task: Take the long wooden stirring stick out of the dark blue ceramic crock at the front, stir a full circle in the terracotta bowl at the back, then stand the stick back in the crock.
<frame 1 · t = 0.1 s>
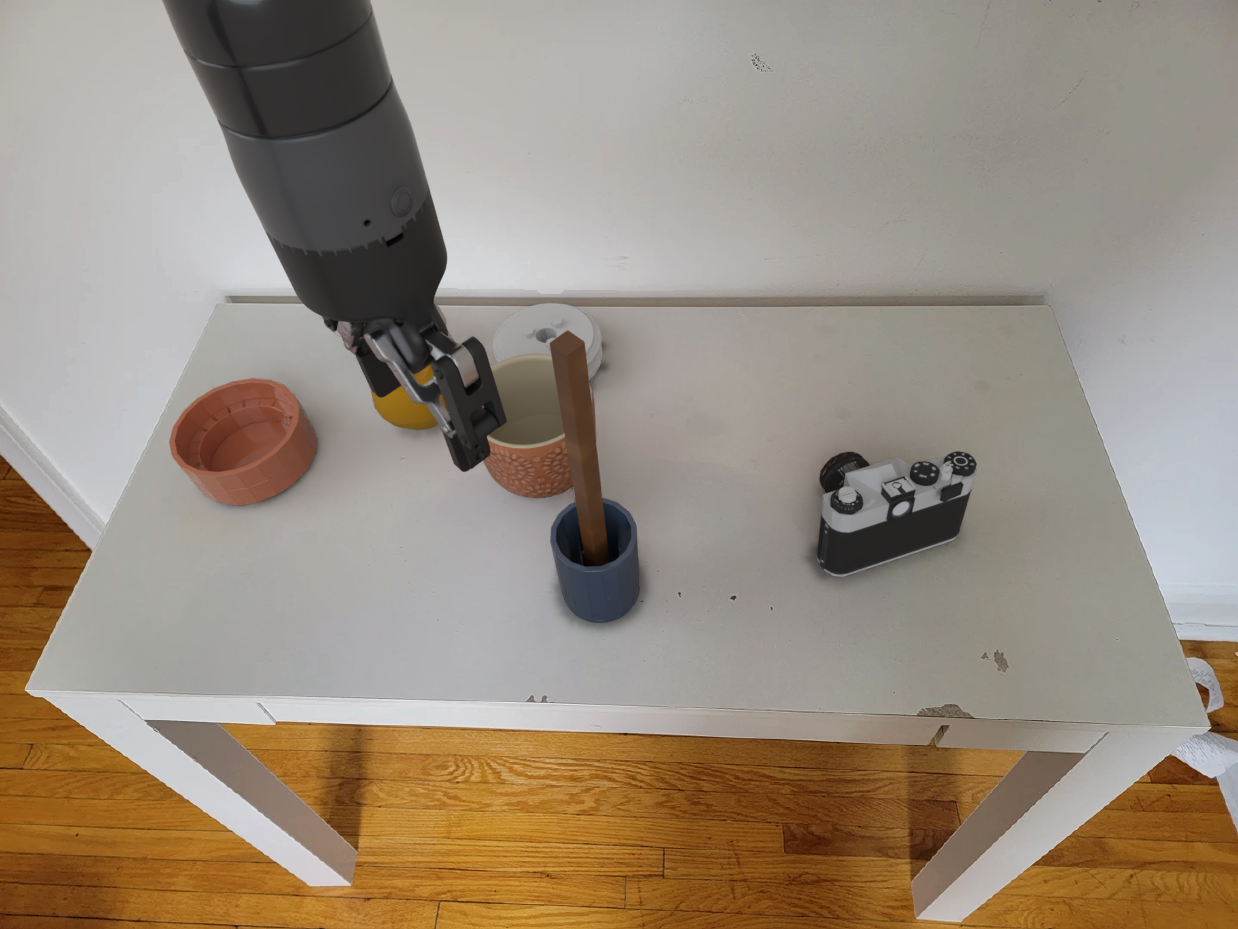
hand: (430, 423, 47), 30 cm above the table, tool pointing down, fingers open, 8 cm apart
planter: (543, 466, 83), on the table
crock: (601, 587, 74), on the table
stick: (600, 584, 73), point 1 cm above the table, touching crock
apple: (423, 420, 88), on the table
camera: (868, 518, 77), on the table
cup: (380, 352, 94), on the table
bowl: (259, 459, 85), on the table
lid: (550, 362, 92), on the table
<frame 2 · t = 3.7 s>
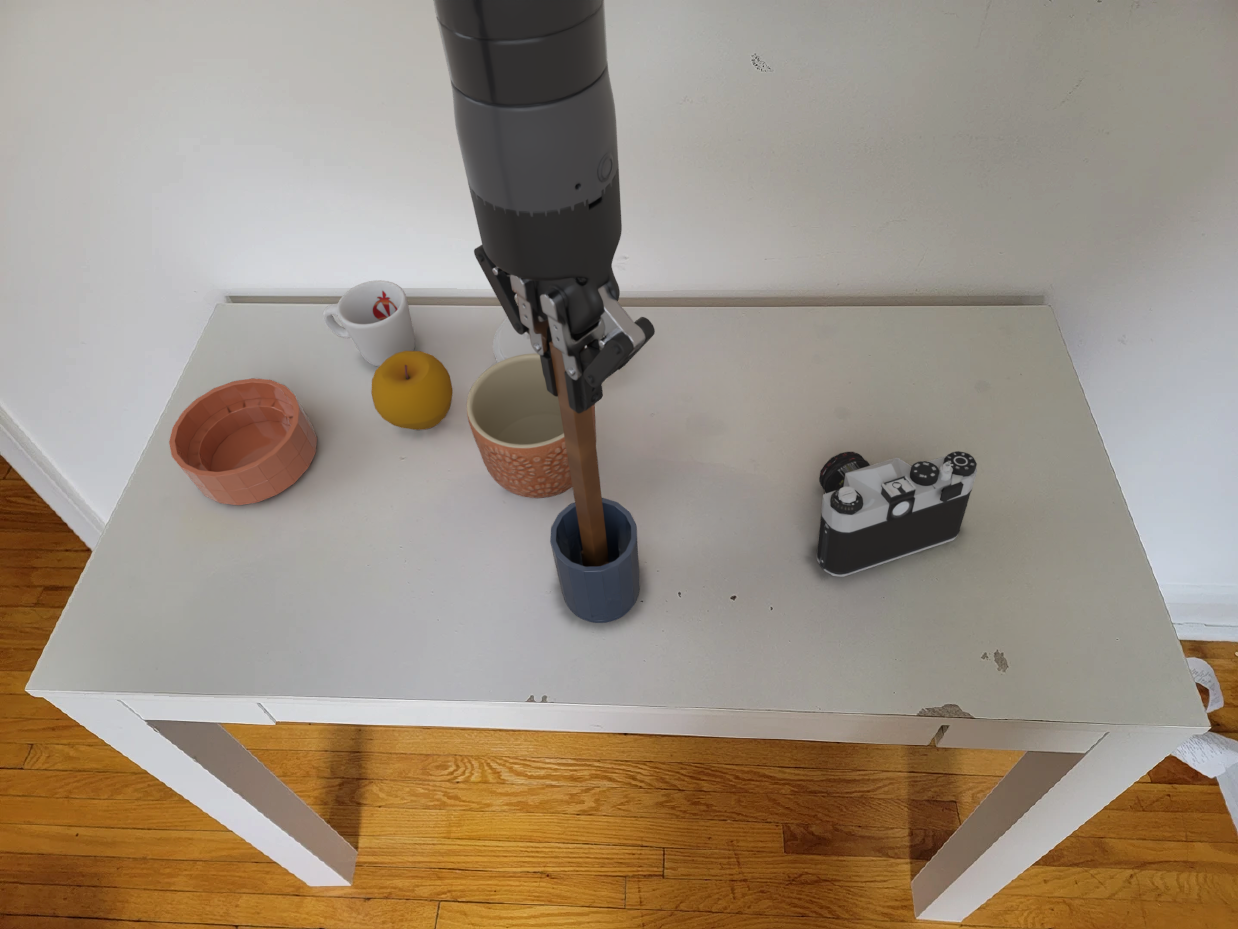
hand: (574, 395, 51), 28 cm above the table, tool pointing down, fingers closed on stick, 1 cm apart
stick: (600, 585, 73), point 1 cm above the table, touching gripper
everything else where it was.
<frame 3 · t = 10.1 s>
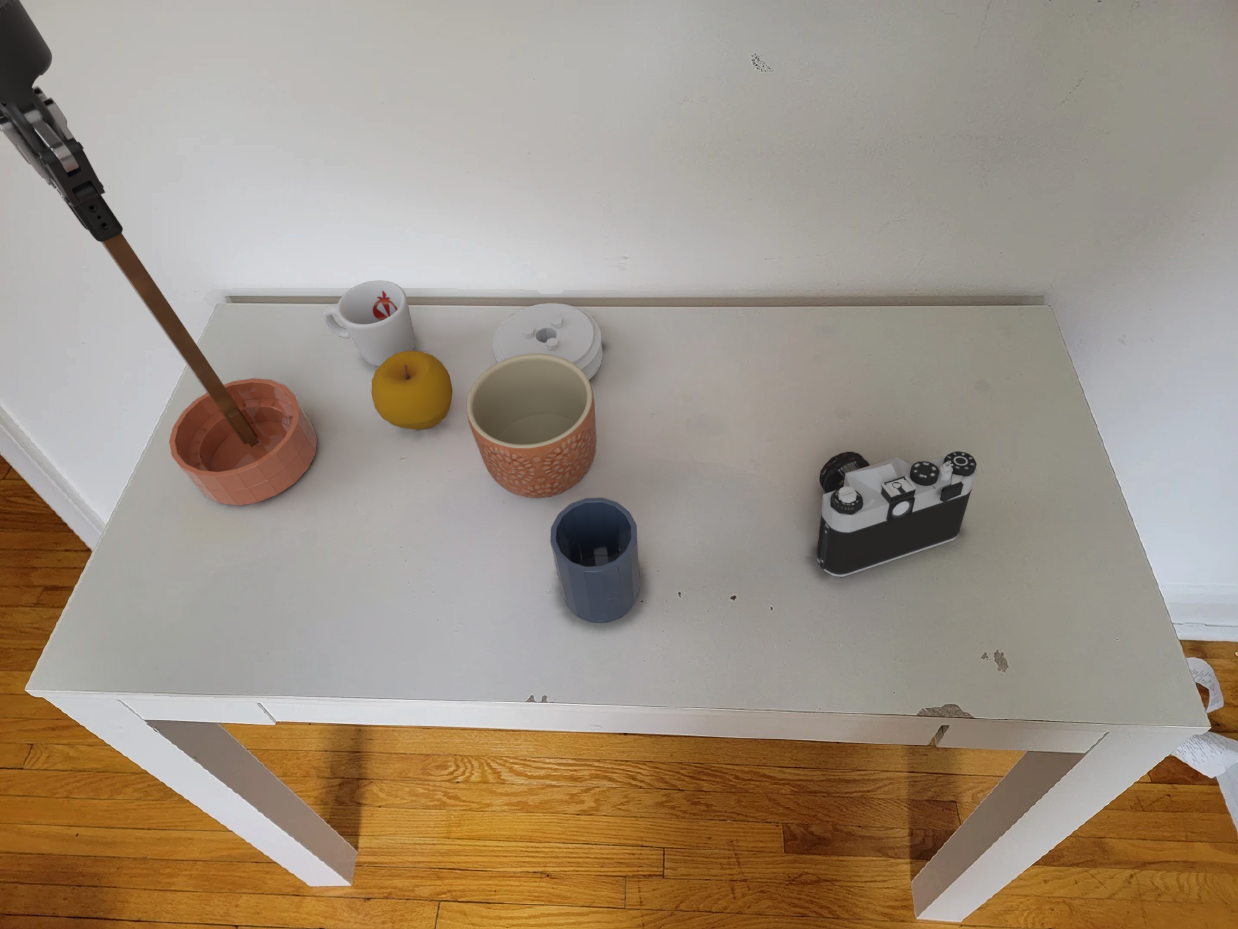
hand: (104, 229, 63), 29 cm above the table, tool pointing down, fingers closed on stick, 1 cm apart
stick: (248, 437, 84), point 2 cm above the table, touching gripper
everything else where it was.
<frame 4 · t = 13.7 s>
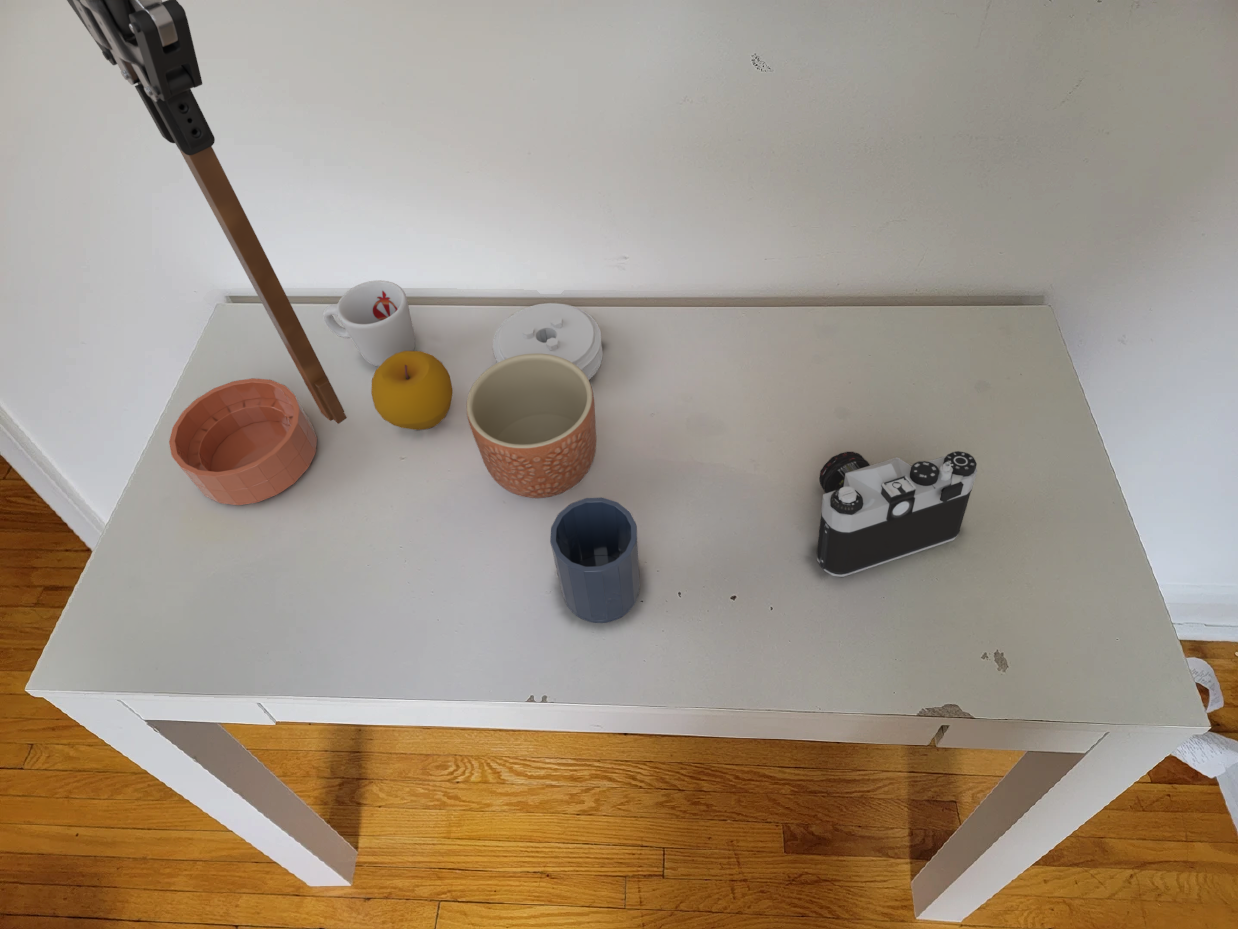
hand: (191, 141, 50), 40 cm above the table, tool pointing down, fingers closed on stick
stick: (333, 412, 72), point 13 cm above the table, touching gripper
everything else where it was.
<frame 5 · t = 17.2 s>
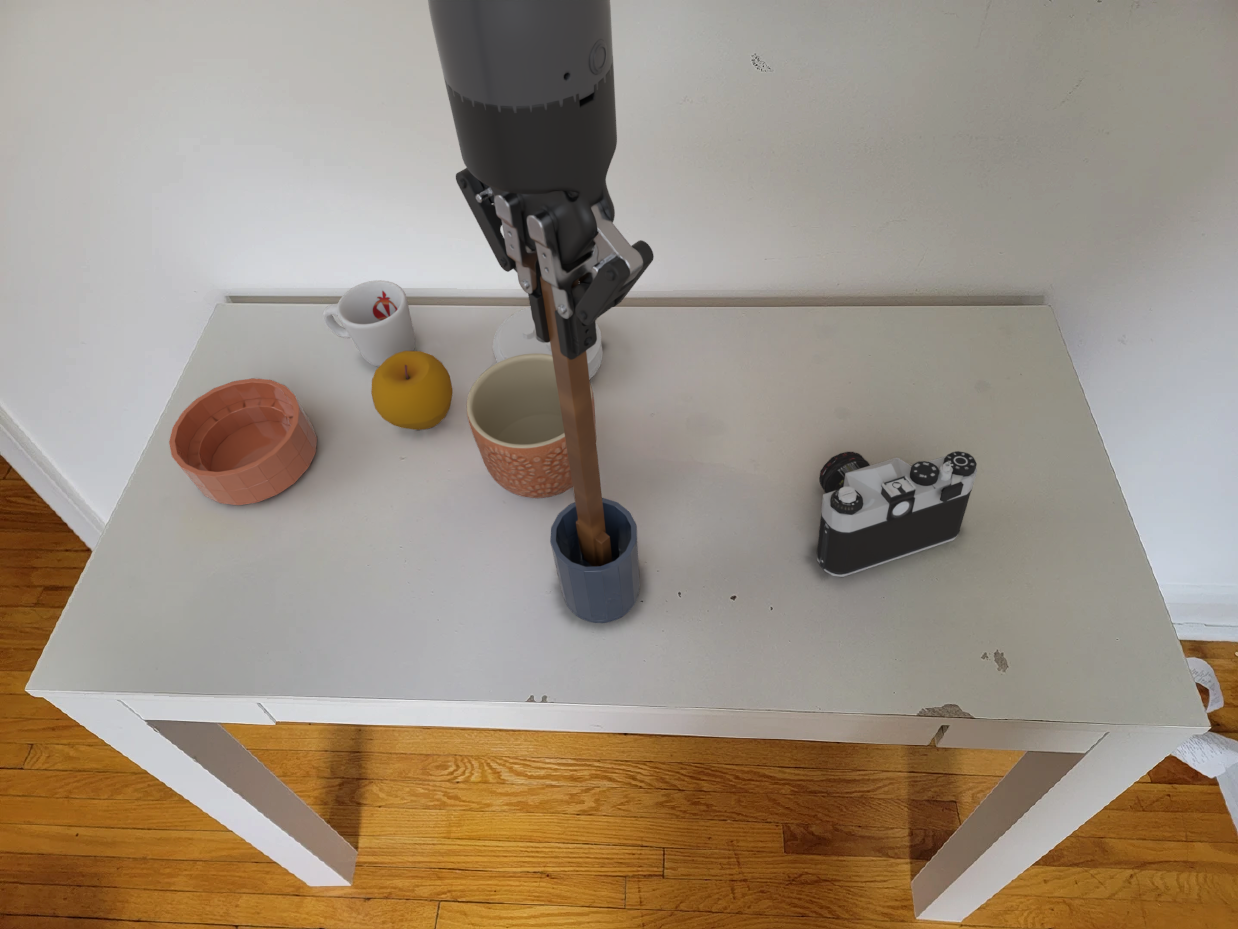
hand: (566, 341, 47), 33 cm above the table, tool pointing down, fingers closed on stick
stick: (596, 558, 69), point 6 cm above the table, touching gripper
everything else where it was.
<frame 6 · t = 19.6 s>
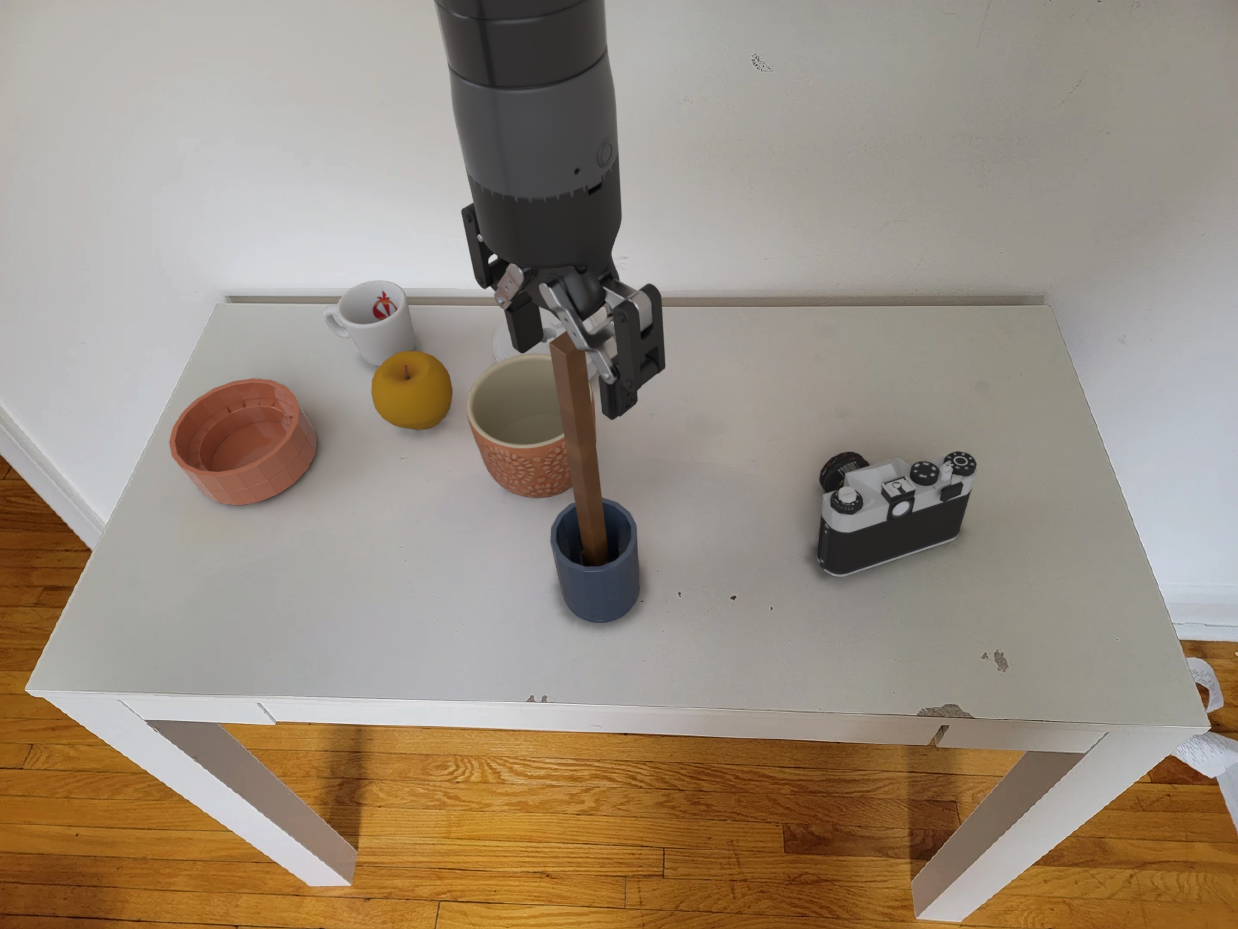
hand: (572, 376, 50), 29 cm above the table, tool pointing down, fingers open, 8 cm apart
stick: (600, 584, 73), point 1 cm above the table, touching crock
everything else where it was.
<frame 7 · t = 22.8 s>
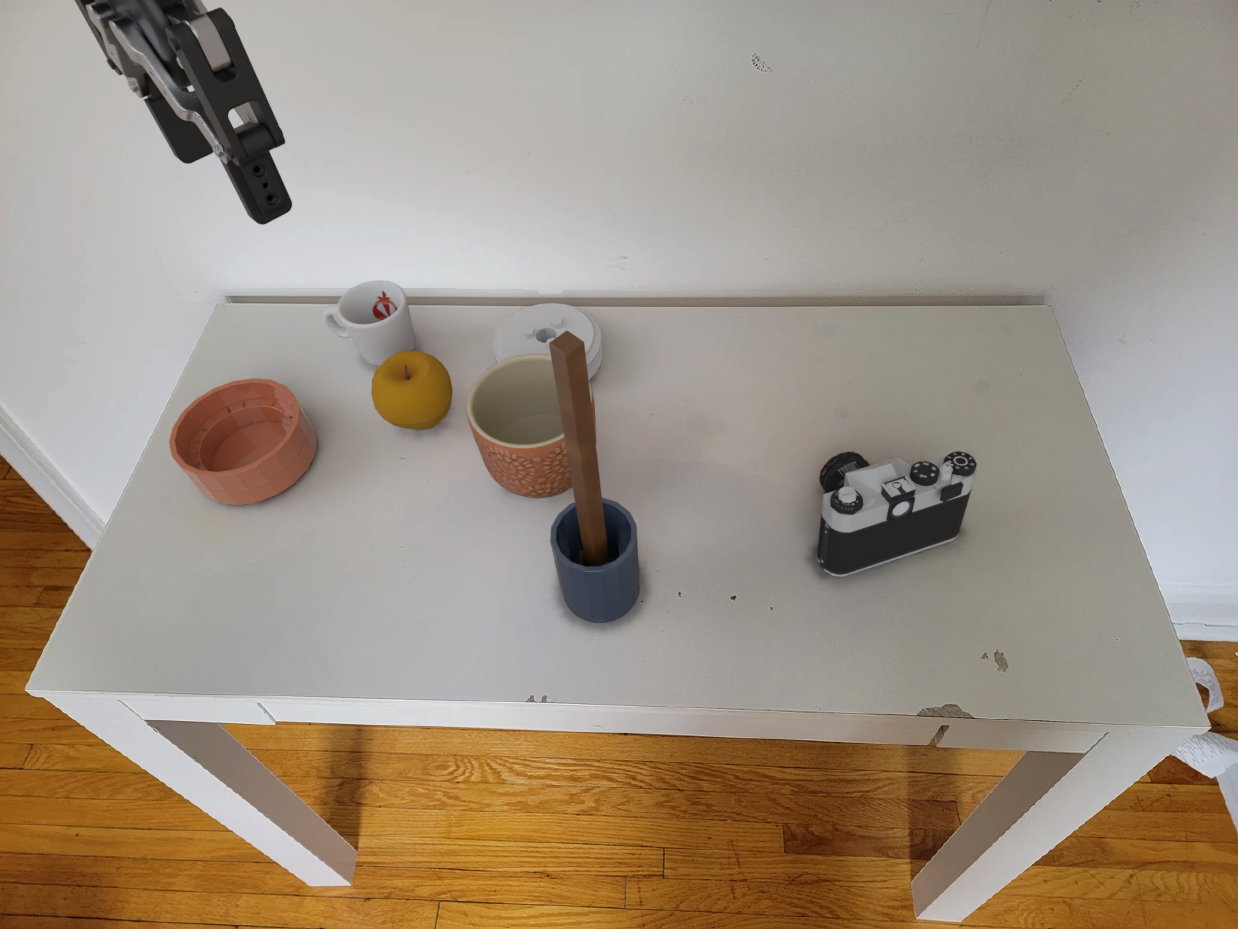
hand: (234, 184, 43), 42 cm above the table, tool pointing down, fingers open, 8 cm apart
nothing on the table moved.
at the end: stick 0.0 cm off-centre in the crock, point 0.6 cm above the crock's base; stick tilted 0°; stick touching crock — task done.
